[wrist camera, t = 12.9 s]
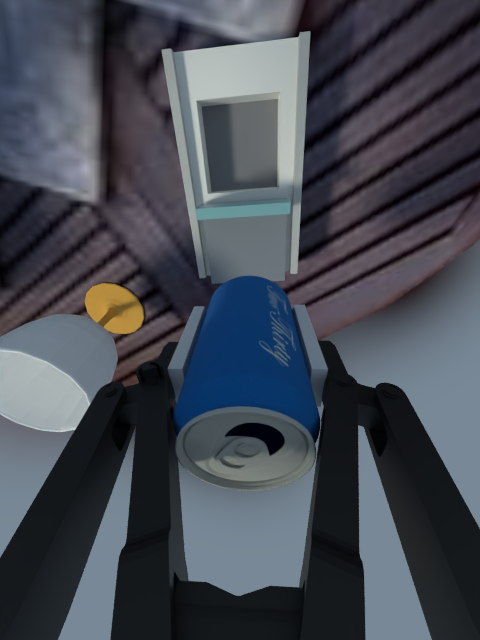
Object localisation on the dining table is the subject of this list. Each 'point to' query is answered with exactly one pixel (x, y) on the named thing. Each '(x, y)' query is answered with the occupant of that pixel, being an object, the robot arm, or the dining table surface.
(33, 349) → the cup
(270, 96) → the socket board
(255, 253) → the shutter
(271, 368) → the beverage can
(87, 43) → the dining table surface
